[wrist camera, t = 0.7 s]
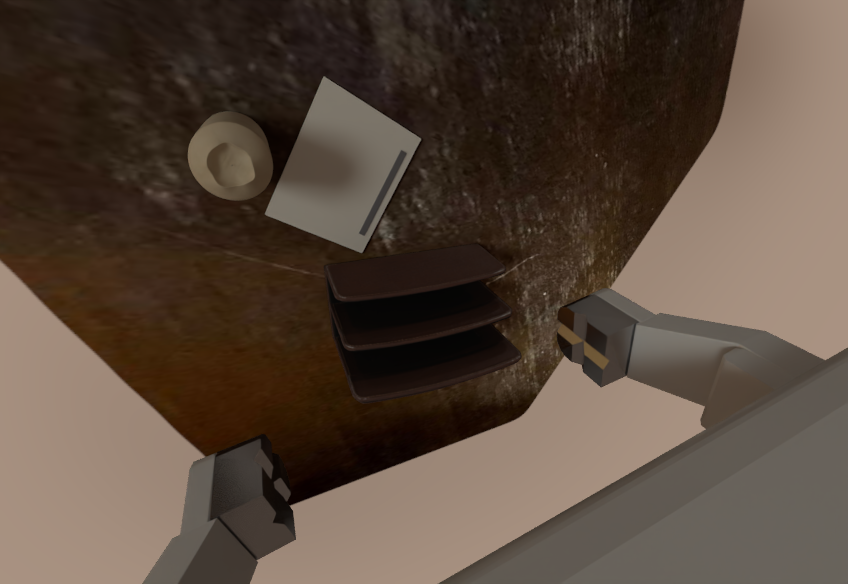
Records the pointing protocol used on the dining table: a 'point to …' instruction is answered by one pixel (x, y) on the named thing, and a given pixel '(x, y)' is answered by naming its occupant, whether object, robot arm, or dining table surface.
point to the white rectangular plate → (342, 169)
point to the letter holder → (417, 321)
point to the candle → (231, 156)
